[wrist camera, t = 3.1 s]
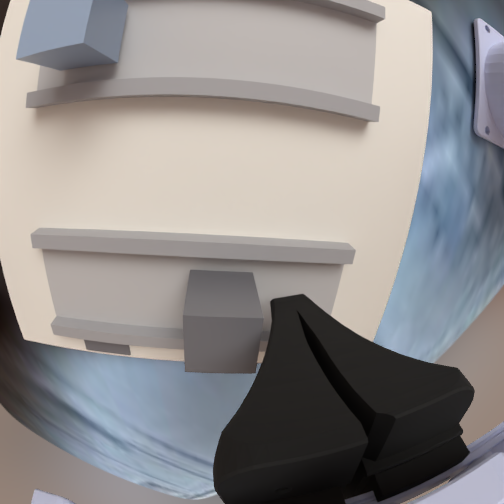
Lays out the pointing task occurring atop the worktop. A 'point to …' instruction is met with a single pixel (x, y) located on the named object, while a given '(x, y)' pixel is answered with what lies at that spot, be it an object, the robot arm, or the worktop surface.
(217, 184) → the switch panel
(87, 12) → the slate tab
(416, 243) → the worktop surface
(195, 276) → the charcoal tab
